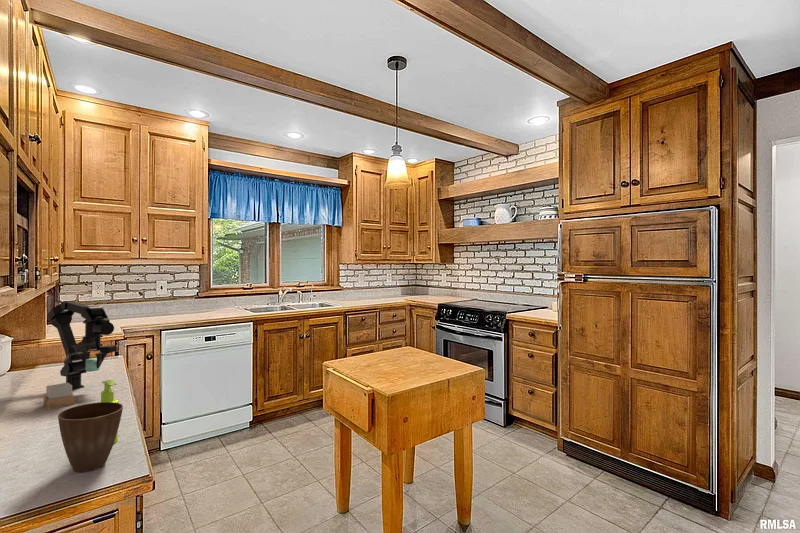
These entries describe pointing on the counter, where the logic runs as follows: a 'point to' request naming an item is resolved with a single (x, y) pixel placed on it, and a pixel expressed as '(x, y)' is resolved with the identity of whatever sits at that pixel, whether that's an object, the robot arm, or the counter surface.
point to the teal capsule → (91, 365)
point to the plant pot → (89, 433)
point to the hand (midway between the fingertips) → (92, 367)
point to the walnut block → (58, 401)
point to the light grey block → (58, 390)
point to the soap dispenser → (108, 395)
